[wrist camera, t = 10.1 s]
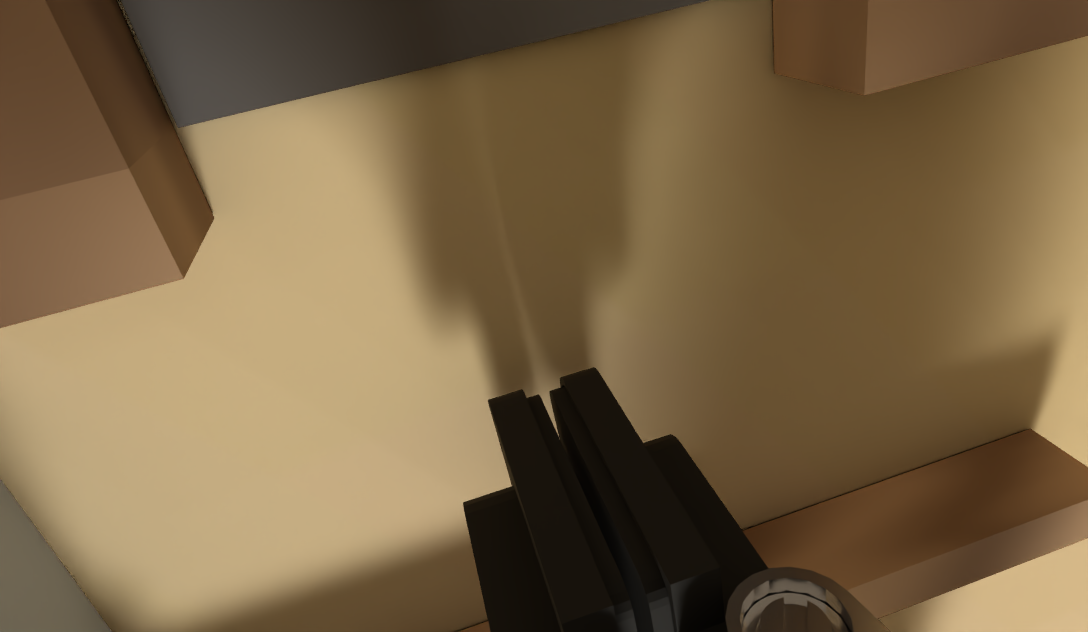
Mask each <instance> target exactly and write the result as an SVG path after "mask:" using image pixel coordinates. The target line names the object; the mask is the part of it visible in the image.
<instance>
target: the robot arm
mask: <svg viewBox="0 0 1088 632" xmlns="http://www.w3.org/2000/svg"><path fill="white" fill-rule="evenodd" d="M560 385H561V388H558V389H555V390H551V391H550V399H551V403H552V408H553V412H554V416H555V421H556V425H557V429H558V434H559V437H558V435H557V432H556V430H555V428H554V426H553V423H552V421H551V419H550V417H549V415H548V412H547V410H546V408H545V406H544V404H543V401H542V399H541V397H540V395H535V396H532V397H529V398H526V396H525V393H524V391H523V390H519V391H516V392H512V393H509V394H506V395H503V396H499V397H496V398H493V399H490V400H488V403H489V407H490V410H491V414H492V417H493V421H494V424H495V428H496V431H497V435H498V438H499V442H500V445H501V449H502V452H503V456H504V459H505V463H506V466H507V470H508V473H509V477H510V480H511V484H512V487H509V488H506V489H503V490H500V491H496V492H493V493H490V494H487V495H484V496H481V497H478V498H475V499H472V500H469V501H466V502H463V506H464V512H465V517H466V521H467V526H468V530H469V535H470V540H471V544H472V549H473V553H474V558H475V563H476V567H477V572H478V576H479V581H480V586H481V590H482V595H483V599H484V604H485V609H486V613H487V618H488V622H489V627H490V632H890V631H889V630H888V629H887V628H886V627H885V626H884V625H883V624H882V623H881V622H880V621H879V620H878V619H877V618H876V617H875V616H874V615H873V614H872V613H871V612H870V611H868V610H867V609H866V608H865V607H864V606H863V605H862V604H861V603H860V602H859V601H858V600H857V599H856V598H855V597H854V596H853V595H852V594H851V593H850V592H849V591H847V590H846V589H845V588H843V587H842V586H840V585H839V584H838V583H836V582H835V581H834V580H832V579H831V578H828V577H826V576H824V575H821V574H819V573H817V572H814V571H812V570H807V569H801V568H795V567H779V568H768V567H767V565H766V564H765V563H764V561H763V560H762V558H761V557H760V555H759V554H758V553H757V551H756V550H755V548H754V547H753V545H752V544H751V543H750V541H749V540H748V538H747V537H746V535H745V534H744V533H743V531H742V530H741V528H740V527H739V525H738V524H737V523H736V521H735V520H734V518H733V517H732V515H731V514H730V513H729V511H728V510H727V508H726V507H725V506H724V504H723V503H722V501H721V500H720V498H719V497H718V496H717V494H716V493H715V491H714V490H713V488H712V487H711V486H710V484H709V483H708V481H707V480H706V478H705V477H704V476H703V474H702V473H701V471H700V470H699V468H698V467H697V466H696V464H695V463H694V461H693V460H692V458H691V457H690V456H689V454H688V453H687V451H686V450H685V448H684V447H683V446H682V444H681V443H680V442H679V440H678V439H677V438H676V437H675V436H673V435H671V434H670V435H667V436H664V437H661V438H658V439H655V440H652V441H648V442H645V443H643V442H642V441H641V439H640V437H639V436H638V434H637V433H636V431H635V429H634V428H633V426H632V425H631V423H630V421H629V420H628V418H627V417H626V415H625V413H624V412H623V410H622V408H621V407H620V405H619V404H618V402H617V400H616V399H615V397H614V396H613V394H612V392H611V391H610V389H609V388H608V386H607V384H606V383H605V381H604V380H603V378H602V376H601V375H600V373H599V372H598V370H597V369H596V368H595V367H593V368H590V369H586V370H583V371H580V372H577V373H574V374H570V375H567V376H564V377H561V378H560ZM559 438H560V439H559Z"/></svg>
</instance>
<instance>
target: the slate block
mask: <svg viewBox="0 0 1088 632" xmlns="http://www.w3.org/2000/svg"><path fill="white" fill-rule="evenodd" d="M0 632H112V631H111V630H110V628H109V627H108V625H107V624H106V623H105V621H104V620H103V619H102V617H101V616H100V615H99V613H98V612H97V610H96V609H95V608H94V606H93V605H92V604H91V602H90V601H89V599H88V598H87V597H86V595H85V594H84V593H83V591H82V590H81V588H80V587H79V586H78V584H77V583H76V582H75V580H74V579H73V578H72V576H71V575H70V573H69V572H68V571H67V569H66V568H65V567H64V565H63V564H62V562H61V561H60V560H59V558H58V557H57V556H56V554H55V553H54V552H53V550H52V549H51V547H50V546H49V545H48V543H47V542H46V541H45V539H44V538H43V536H42V535H41V534H40V532H39V531H38V530H37V528H36V527H35V526H34V524H33V523H32V521H31V520H30V519H29V517H28V516H27V515H26V513H25V512H24V510H23V509H22V508H21V506H20V505H19V504H18V502H17V501H16V499H15V498H14V497H13V495H12V494H11V493H10V491H9V490H8V489H7V487H6V486H5V484H4V483H3V482H2V480H1V479H0Z"/></svg>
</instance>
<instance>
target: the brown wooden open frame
mask: <svg viewBox="0 0 1088 632" xmlns="http://www.w3.org/2000/svg"><path fill="white" fill-rule="evenodd" d="M705 1H709V0H121V2H122V4H123V6H124V9H125V11H126V13H127V15H128V17H129V20H130V22H131V24H132V26H133V29H134V31H135V33H136V35H137V38H138V40H139V42H140V44H141V46H142V49H143V51H144V53H145V55H146V58H147V60H148V62H149V64H150V67H151V69H152V71H153V73H154V75H155V78H156V80H157V82H158V84H159V87H160V89H161V91H162V93H163V96H164V98H165V100H166V102H167V104H168V107H169V109H170V111H171V113H172V116H173V118H174V120H175V122H176V125H177V127H178V128H180V127H184V126H188V125H192V124H196V123H201V122H205V121H209V120H213V119H217V118H221V117H226V116H230V115H234V114H238V113H242V112H246V111H251V110H255V109H259V108H263V107H267V106H271V105H276V104H280V103H284V102H288V101H292V100H296V99H301V98H305V97H309V96H313V95H317V94H321V93H326V92H330V91H334V90H338V89H342V88H346V87H351V86H355V85H359V84H363V83H367V82H371V81H376V80H380V79H384V78H388V77H392V76H396V75H401V74H405V73H409V72H413V71H417V70H421V69H426V68H430V67H434V66H438V65H442V64H446V63H451V62H455V61H459V60H463V59H467V58H471V57H476V56H480V55H484V54H488V53H492V52H496V51H501V50H505V49H509V48H513V47H517V46H521V45H526V44H530V43H534V42H538V41H542V40H546V39H551V38H555V37H559V36H563V35H567V34H571V33H576V32H580V31H584V30H588V29H592V28H596V27H601V26H605V25H609V24H613V23H617V22H621V21H626V20H630V19H634V18H638V17H642V16H646V15H651V14H655V13H659V12H663V11H667V10H671V9H676V8H680V7H684V6H688V5H692V4H696V3H701V2H705ZM773 31H774V73H776V74H780V75H784V76H788V77H792V78H796V79H800V80H804V81H808V82H812V83H816V84H820V85H824V86H828V87H832V88H836V89H840V90H844V91H848V92H852V93H856V94H860V95H864V96H865V95H869V94H872V93H876V92H880V91H884V90H887V89H891V88H895V87H898V86H902V85H906V84H910V83H913V82H917V81H921V80H924V79H928V78H932V77H936V76H939V75H943V74H947V73H951V72H954V71H958V70H962V69H965V68H969V67H973V66H977V65H980V64H984V63H988V62H991V61H995V60H999V59H1003V58H1006V57H1010V56H1014V55H1017V54H1021V53H1025V52H1029V51H1032V50H1036V49H1040V48H1043V47H1047V46H1051V45H1055V44H1058V43H1062V42H1066V41H1070V40H1073V39H1077V38H1081V37H1084V36H1088V0H773ZM213 220H214V216H213V214H212V212H211V210H210V208H209V205H208V203H207V201H206V199H205V196H204V194H203V192H202V190H201V188H200V185H199V183H198V181H197V179H196V177H195V174H194V172H193V170H192V168H191V165H190V163H189V161H188V159H187V157H186V154H185V152H184V150H183V148H182V146H181V143H180V141H179V139H178V137H177V134H176V132H175V130H174V128H173V126H172V123H171V121H170V119H169V117H168V115H167V112H166V110H165V108H164V106H163V103H162V101H161V99H160V97H159V95H158V92H157V90H156V88H155V86H154V83H153V81H152V79H151V77H150V75H149V72H148V70H147V68H146V66H145V64H144V61H143V59H142V57H141V55H140V52H139V50H138V48H137V46H136V44H135V41H134V39H133V37H132V35H131V33H130V30H129V28H128V26H127V24H126V21H125V19H124V17H123V15H122V13H121V10H120V8H119V6H118V4H117V2H116V0H0V328H2V327H6V326H10V325H13V324H17V323H21V322H25V321H28V320H32V319H36V318H39V317H43V316H47V315H51V314H54V313H58V312H62V311H66V310H69V309H73V308H77V307H80V306H84V305H88V304H92V303H95V302H99V301H103V300H106V299H110V298H114V297H118V296H121V295H125V294H129V293H132V292H136V291H140V290H144V289H147V288H151V287H155V286H158V285H162V284H166V283H170V282H173V281H177V280H181V279H184V277H185V275H186V273H187V271H188V269H189V267H190V265H191V263H192V261H193V259H194V257H195V255H196V253H197V251H198V249H199V247H200V245H201V243H202V241H203V240H204V238H205V236H206V234H207V232H208V230H209V228H210V226H211V224H212V222H213ZM743 533H744V534H745V535H746V537H747V538H748V540H749V541H750V543H751V544H752V545H753V547H754V548H755V550H756V551H757V553H758V554H759V555H760V557H761V558H762V560H763V561H764V563H765V564H766V565H767V567H768V568H779V567H795V568H801V569H807V570H812V571H814V572H817V573H819V574H821V575H824V576H826V577H828V578H831V579H832V580H834V581H835V582H836V583H838V584H839V585H840V586H842V587H843V588H845V589H846V590H847V591H849V592H850V593H851V594H852V595H853V596H854V597H855V598H856V599H857V600H858V601H859V602H860V603H861V604H862V605H863V606H864V607H865V608H866V609H867V610H868V611H870V612H871V613H872V614H873V615H874V616H875V617H876V618H877V619H879V618H881V617H884V616H887V615H889V614H892V613H894V612H897V611H900V610H902V609H905V608H907V607H910V606H913V605H915V604H918V603H920V602H923V601H926V600H928V599H931V598H933V597H936V596H939V595H941V594H944V593H946V592H949V591H952V590H954V589H957V588H959V587H962V586H965V585H967V584H970V583H972V582H975V581H978V580H980V579H983V578H985V577H988V576H991V575H993V574H996V573H998V572H1001V571H1004V570H1006V569H1009V568H1011V567H1014V566H1017V565H1019V564H1022V563H1024V562H1027V561H1030V560H1032V559H1035V558H1037V557H1040V556H1043V555H1045V554H1048V553H1050V552H1053V551H1056V550H1058V549H1061V548H1064V547H1066V546H1069V545H1071V544H1074V543H1077V542H1079V541H1082V540H1084V539H1087V538H1088V467H1087V466H1085V465H1084V464H1082V463H1081V462H1079V461H1078V460H1076V459H1075V458H1073V457H1072V456H1070V455H1069V454H1067V453H1066V452H1064V451H1063V450H1061V449H1060V448H1058V447H1057V446H1055V445H1054V444H1052V443H1051V442H1050V441H1048V440H1047V439H1045V438H1044V437H1042V436H1041V435H1039V434H1038V433H1036V432H1035V431H1033V430H1032V429H1028V430H1025V431H1023V432H1020V433H1017V434H1014V435H1011V436H1008V437H1006V438H1003V439H1000V440H997V441H994V442H992V443H989V444H986V445H983V446H980V447H977V448H975V449H972V450H969V451H966V452H963V453H961V454H958V455H955V456H952V457H949V458H946V459H944V460H941V461H938V462H935V463H932V464H930V465H927V466H924V467H921V468H918V469H915V470H913V471H910V472H907V473H904V474H901V475H898V476H896V477H893V478H890V479H887V480H884V481H882V482H879V483H876V484H873V485H870V486H867V487H865V488H862V489H859V490H856V491H853V492H851V493H848V494H845V495H842V496H839V497H836V498H834V499H831V500H828V501H825V502H822V503H820V504H817V505H814V506H811V507H808V508H805V509H803V510H800V511H797V512H794V513H791V514H788V515H786V516H783V517H780V518H777V519H774V520H772V521H769V522H766V523H763V524H760V525H757V526H755V527H752V528H749V529H746V530H743ZM458 632H490V627H489V622H488V621H487V622H484V623H481V624H478V625H475V626H473V627H470V628H467V629H464V630H461V631H458Z"/></svg>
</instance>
